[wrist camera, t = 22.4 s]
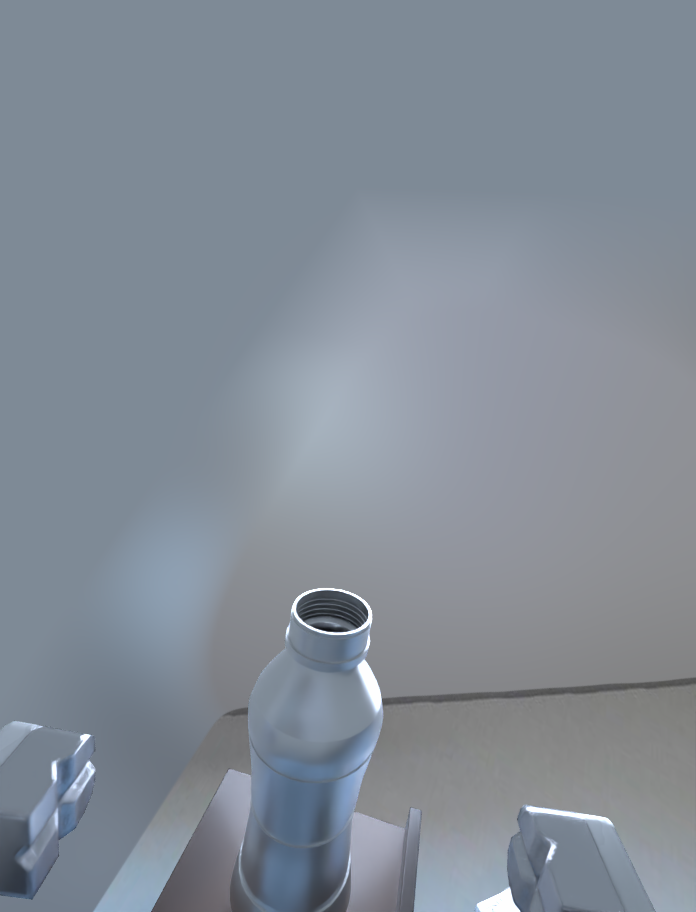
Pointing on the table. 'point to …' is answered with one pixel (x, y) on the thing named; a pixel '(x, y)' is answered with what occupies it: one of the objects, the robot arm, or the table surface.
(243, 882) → the plastic bottle
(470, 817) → the table surface
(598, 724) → the table surface
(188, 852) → the block with raised lip
